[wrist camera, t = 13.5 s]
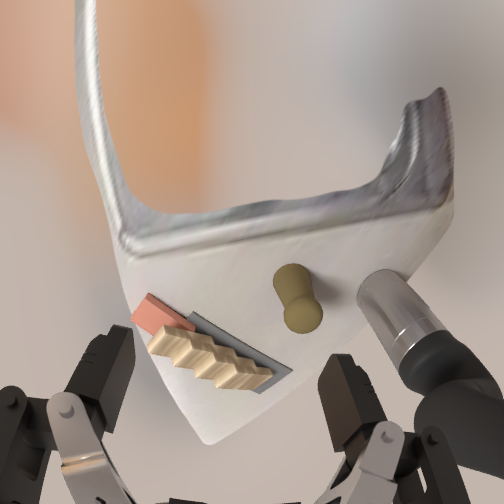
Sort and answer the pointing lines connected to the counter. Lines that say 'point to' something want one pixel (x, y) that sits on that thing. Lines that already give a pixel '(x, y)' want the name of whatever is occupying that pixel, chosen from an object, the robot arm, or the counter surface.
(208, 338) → the domino
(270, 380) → the mat
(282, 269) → the cork
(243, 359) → the domino
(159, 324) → the domino
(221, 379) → the domino
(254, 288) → the counter surface
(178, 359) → the domino
